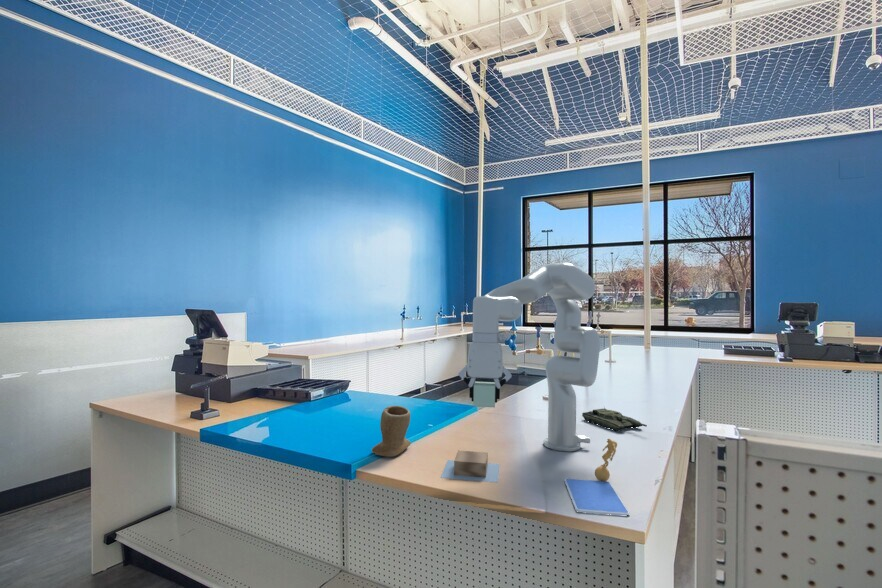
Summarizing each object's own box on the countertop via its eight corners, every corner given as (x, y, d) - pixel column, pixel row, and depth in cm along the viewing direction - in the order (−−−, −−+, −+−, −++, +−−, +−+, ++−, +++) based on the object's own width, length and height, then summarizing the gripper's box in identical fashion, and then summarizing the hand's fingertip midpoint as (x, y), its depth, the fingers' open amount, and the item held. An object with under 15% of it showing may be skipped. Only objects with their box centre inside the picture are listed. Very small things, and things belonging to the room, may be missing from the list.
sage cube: (495, 402, 127) (495, 382, 127) (494, 407, 121) (495, 386, 121) (474, 401, 128) (475, 381, 128) (473, 406, 122) (473, 385, 122)
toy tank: (604, 417, 193) (604, 395, 193) (658, 435, 167) (659, 409, 167) (580, 420, 187) (580, 397, 188) (632, 439, 162) (632, 412, 162)
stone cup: (399, 462, 134) (400, 413, 135) (366, 456, 139) (367, 409, 139) (420, 447, 148) (420, 403, 149) (389, 442, 153) (390, 400, 153)
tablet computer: (563, 482, 122) (563, 477, 122) (610, 485, 121) (610, 480, 121) (576, 515, 103) (576, 509, 103) (631, 519, 101) (631, 513, 101)
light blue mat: (499, 466, 132) (499, 463, 132) (497, 485, 118) (497, 482, 118) (447, 462, 134) (447, 459, 134) (440, 480, 121) (440, 477, 121)
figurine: (591, 474, 126) (591, 433, 127) (612, 476, 126) (613, 434, 126) (598, 486, 118) (598, 442, 118) (621, 488, 117) (621, 443, 118)
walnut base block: (487, 465, 130) (487, 452, 130) (485, 477, 121) (485, 463, 121) (458, 463, 131) (458, 450, 132) (453, 475, 123) (454, 460, 123)
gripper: (515, 338, 128) (514, 399, 127) (457, 337, 130) (456, 396, 130) (515, 340, 120) (515, 405, 120) (454, 338, 123) (453, 402, 122)
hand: (484, 400), depth 125 cm, fingers closed on sage cube, 6 cm apart
